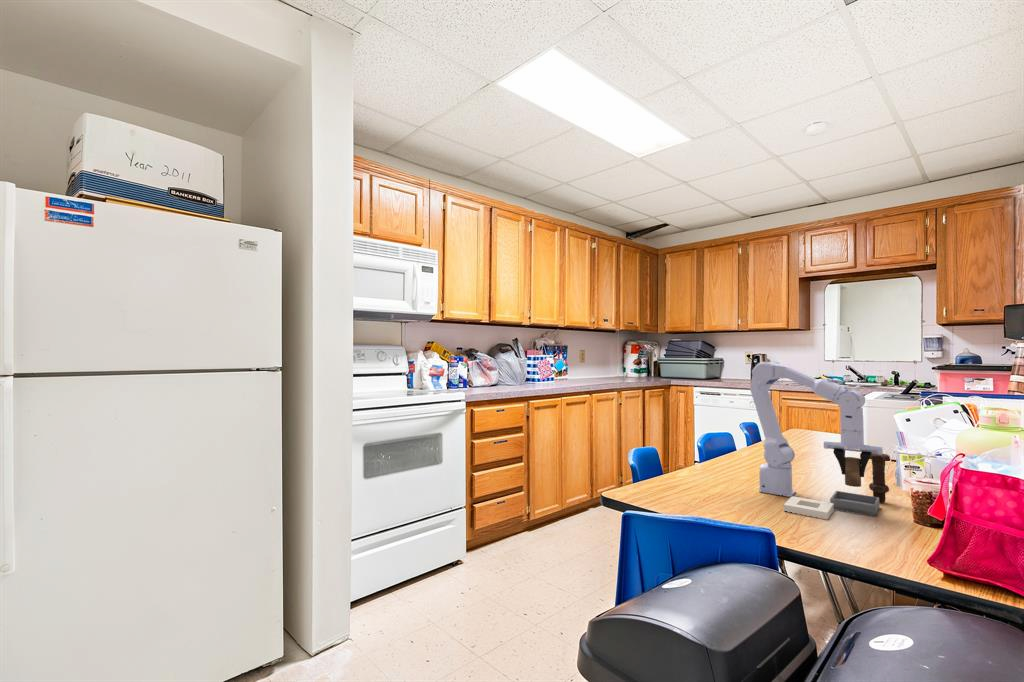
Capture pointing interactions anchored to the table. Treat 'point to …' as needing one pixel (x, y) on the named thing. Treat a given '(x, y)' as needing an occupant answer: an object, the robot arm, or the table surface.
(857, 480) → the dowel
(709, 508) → the table surface
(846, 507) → the tray
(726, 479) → the table surface
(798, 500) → the socket block
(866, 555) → the table surface
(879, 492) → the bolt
